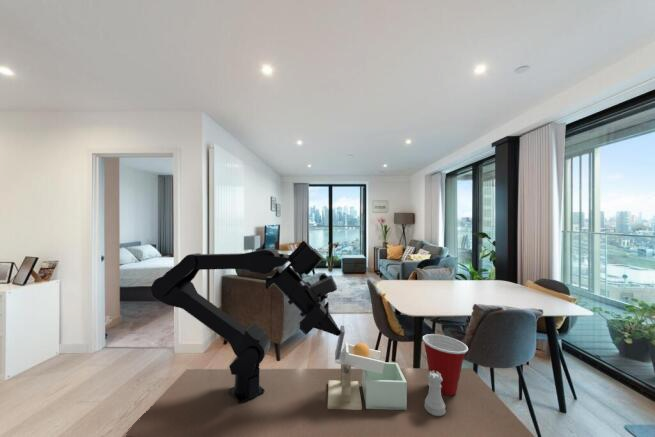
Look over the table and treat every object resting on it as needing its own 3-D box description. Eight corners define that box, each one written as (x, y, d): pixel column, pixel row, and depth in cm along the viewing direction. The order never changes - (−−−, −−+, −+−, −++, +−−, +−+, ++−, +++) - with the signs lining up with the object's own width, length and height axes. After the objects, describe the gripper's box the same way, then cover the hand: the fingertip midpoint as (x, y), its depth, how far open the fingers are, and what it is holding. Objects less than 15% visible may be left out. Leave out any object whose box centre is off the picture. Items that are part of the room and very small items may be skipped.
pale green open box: (366, 408, 60) (366, 380, 60) (361, 385, 69) (362, 361, 69) (406, 410, 60) (406, 382, 60) (397, 386, 69) (397, 362, 69)
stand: (327, 409, 59) (328, 367, 60) (328, 383, 70) (329, 347, 70) (361, 410, 59) (362, 368, 60) (357, 384, 69) (358, 348, 70)
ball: (347, 350, 65) (357, 337, 65) (355, 352, 68) (365, 340, 68) (356, 363, 62) (368, 350, 62) (364, 366, 65) (375, 353, 65)
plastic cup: (475, 405, 62) (474, 352, 62) (425, 398, 64) (425, 347, 64) (461, 380, 72) (461, 334, 73) (419, 375, 74) (419, 331, 75)
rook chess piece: (436, 419, 57) (436, 380, 57) (419, 407, 61) (419, 371, 61) (450, 413, 59) (450, 376, 59) (433, 401, 63) (433, 366, 63)
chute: (335, 363, 62) (341, 332, 62) (335, 351, 68) (340, 324, 68) (382, 374, 62) (388, 343, 62) (378, 361, 68) (383, 333, 68)
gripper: (314, 270, 57) (367, 323, 56) (319, 261, 76) (359, 300, 75) (277, 307, 57) (330, 361, 56) (291, 289, 75) (331, 329, 75)
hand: (339, 334), depth 65 cm, fingers closed, pressing on chute
